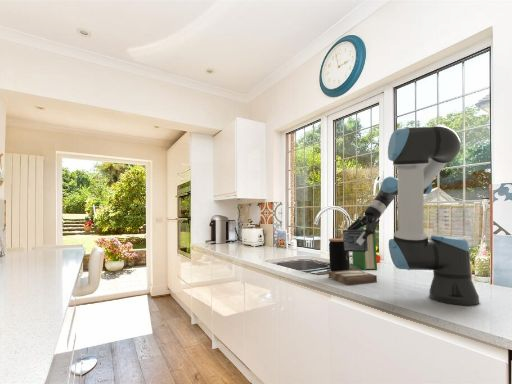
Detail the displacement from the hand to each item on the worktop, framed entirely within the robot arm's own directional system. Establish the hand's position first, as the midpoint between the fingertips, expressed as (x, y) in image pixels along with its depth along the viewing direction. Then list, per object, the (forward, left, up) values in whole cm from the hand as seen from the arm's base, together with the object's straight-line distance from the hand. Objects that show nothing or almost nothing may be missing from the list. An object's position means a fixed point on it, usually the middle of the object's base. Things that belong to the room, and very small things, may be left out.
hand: (350, 242), depth 139 cm
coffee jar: (+18, -5, -18) cm, 26 cm away
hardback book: (+23, -25, -18) cm, 38 cm away
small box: (0, -3, -5) cm, 5 cm away
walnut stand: (-1, +1, -18) cm, 18 cm away
